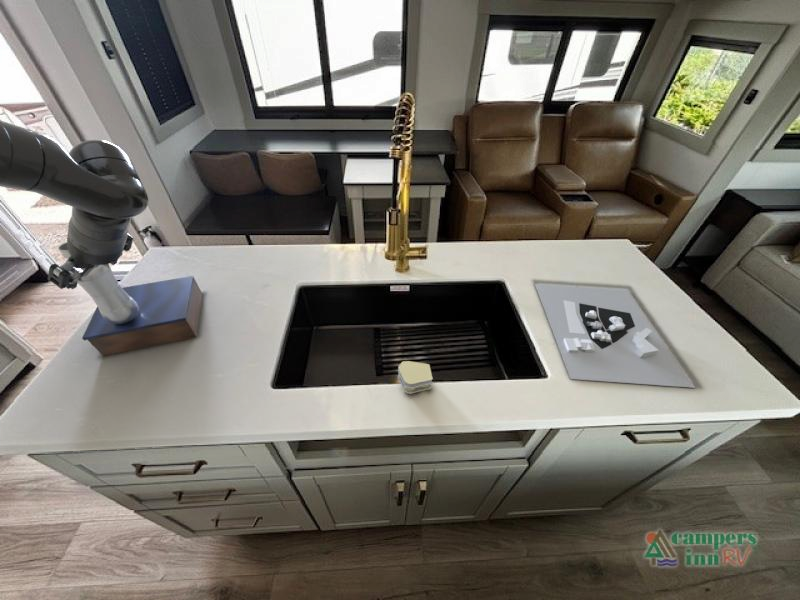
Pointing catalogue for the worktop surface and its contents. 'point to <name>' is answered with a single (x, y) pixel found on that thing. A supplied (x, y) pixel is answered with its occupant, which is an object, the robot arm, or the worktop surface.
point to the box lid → (148, 307)
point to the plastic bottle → (106, 292)
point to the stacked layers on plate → (414, 376)
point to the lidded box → (154, 331)
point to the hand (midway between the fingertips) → (90, 272)
